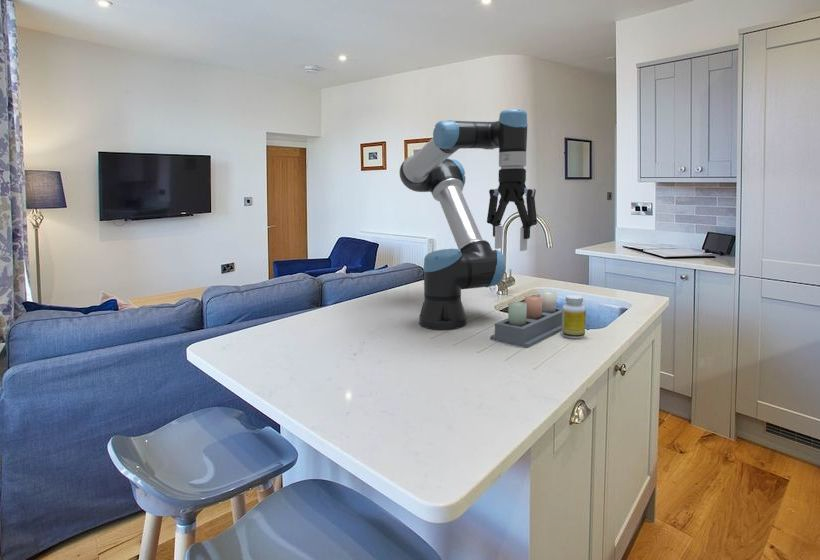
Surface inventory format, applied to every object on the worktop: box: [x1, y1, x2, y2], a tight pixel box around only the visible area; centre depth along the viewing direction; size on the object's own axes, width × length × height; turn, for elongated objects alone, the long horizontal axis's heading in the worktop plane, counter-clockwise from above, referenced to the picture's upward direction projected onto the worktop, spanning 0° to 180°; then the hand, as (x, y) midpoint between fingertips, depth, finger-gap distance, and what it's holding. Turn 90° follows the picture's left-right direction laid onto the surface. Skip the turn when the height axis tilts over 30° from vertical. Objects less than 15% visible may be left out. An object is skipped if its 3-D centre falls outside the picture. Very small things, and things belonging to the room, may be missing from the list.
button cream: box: [538, 290, 557, 314], centre depth 155 cm, size 5×5×6 cm
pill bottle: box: [560, 294, 587, 340], centre depth 144 cm, size 6×6×12 cm
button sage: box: [507, 301, 527, 327], centre depth 142 cm, size 5×5×6 cm
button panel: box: [489, 307, 562, 349], centre depth 149 cm, size 12×27×5 cm, turn 138°
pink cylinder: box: [524, 295, 542, 320], centre depth 148 cm, size 5×5×6 cm
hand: (510, 249), depth 144 cm, fingers open, 8 cm apart
